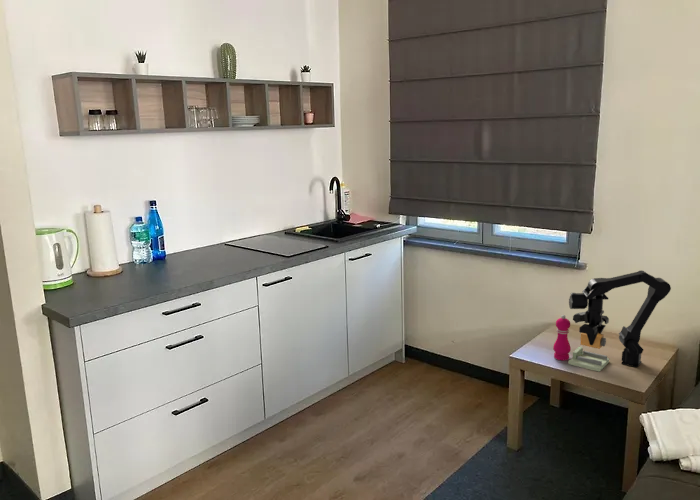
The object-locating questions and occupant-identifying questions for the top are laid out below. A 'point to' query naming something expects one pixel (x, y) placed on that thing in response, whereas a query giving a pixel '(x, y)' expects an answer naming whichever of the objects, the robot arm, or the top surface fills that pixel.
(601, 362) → the pale green tray
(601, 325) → the robot arm
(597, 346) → the orange tapered block
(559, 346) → the pepper mill
